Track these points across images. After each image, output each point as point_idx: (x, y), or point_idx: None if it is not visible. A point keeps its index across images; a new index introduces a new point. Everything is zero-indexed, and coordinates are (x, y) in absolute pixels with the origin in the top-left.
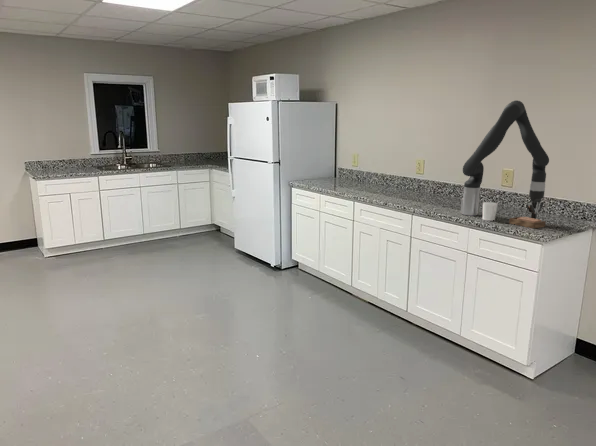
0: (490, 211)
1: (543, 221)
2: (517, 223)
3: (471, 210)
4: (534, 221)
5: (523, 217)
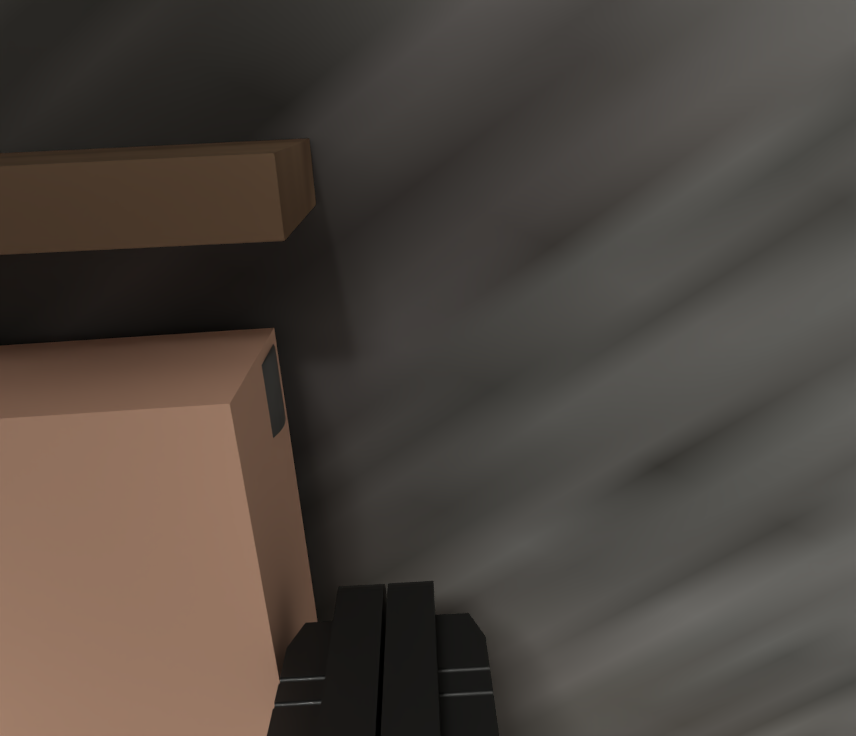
0: None
1: None
2: None
3: None
4: None
5: (24, 493)
